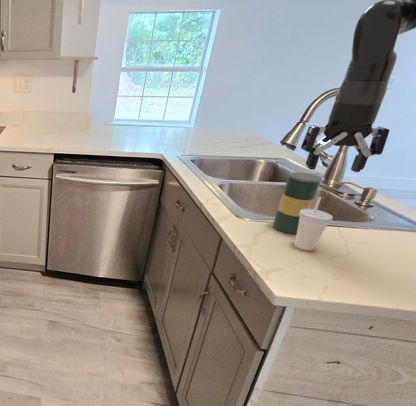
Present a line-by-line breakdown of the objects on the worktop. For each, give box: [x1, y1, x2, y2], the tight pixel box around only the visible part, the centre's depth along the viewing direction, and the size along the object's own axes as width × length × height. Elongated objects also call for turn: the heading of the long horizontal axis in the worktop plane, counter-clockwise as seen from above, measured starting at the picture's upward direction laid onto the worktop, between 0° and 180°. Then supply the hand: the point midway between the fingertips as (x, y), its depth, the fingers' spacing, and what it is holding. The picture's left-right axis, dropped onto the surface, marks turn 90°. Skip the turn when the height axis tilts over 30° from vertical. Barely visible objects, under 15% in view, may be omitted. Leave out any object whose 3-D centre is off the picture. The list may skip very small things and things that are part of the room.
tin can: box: [272, 171, 322, 235], centre depth 102 cm, size 7×7×16 cm
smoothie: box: [294, 196, 334, 251], centre depth 93 cm, size 6×6×14 cm
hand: (332, 169), depth 88 cm, fingers open, 8 cm apart
